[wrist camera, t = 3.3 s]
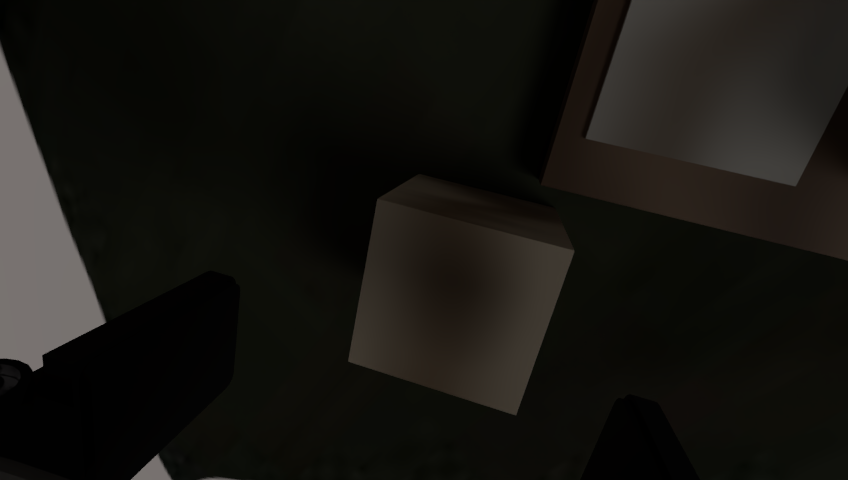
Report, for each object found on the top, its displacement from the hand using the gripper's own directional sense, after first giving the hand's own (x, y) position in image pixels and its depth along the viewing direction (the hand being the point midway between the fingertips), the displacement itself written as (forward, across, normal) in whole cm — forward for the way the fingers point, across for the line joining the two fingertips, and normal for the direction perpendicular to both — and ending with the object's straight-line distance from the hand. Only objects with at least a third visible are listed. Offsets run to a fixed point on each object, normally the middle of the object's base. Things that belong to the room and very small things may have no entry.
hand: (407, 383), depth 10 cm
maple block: (+10, -1, 0) cm, 10 cm away
